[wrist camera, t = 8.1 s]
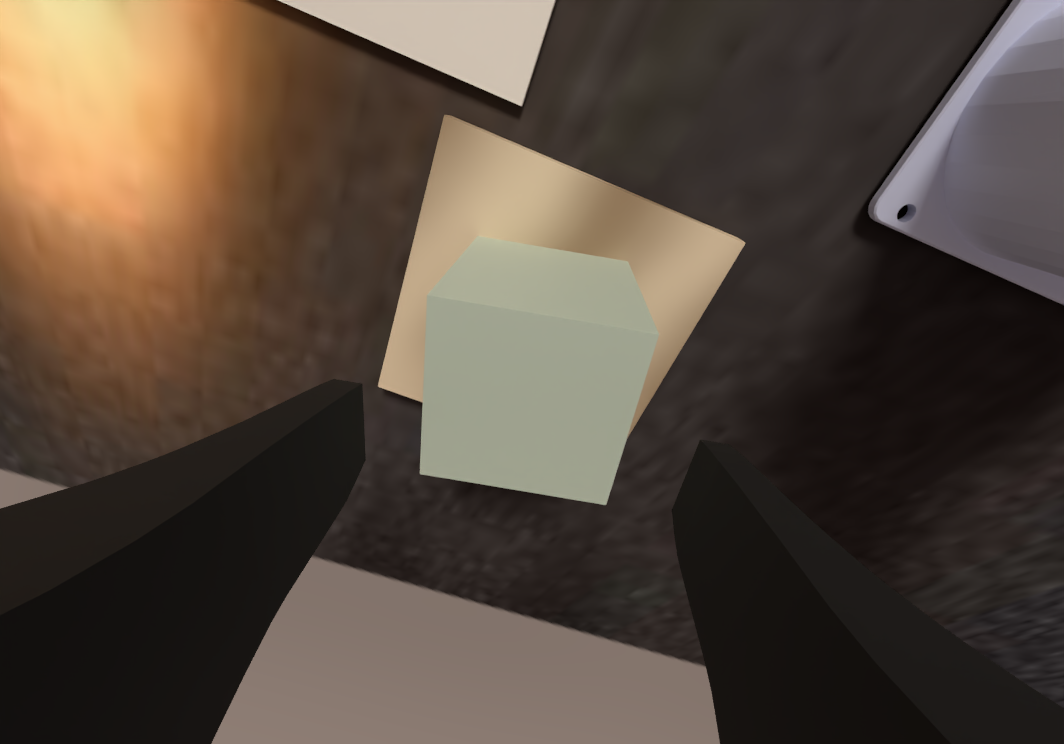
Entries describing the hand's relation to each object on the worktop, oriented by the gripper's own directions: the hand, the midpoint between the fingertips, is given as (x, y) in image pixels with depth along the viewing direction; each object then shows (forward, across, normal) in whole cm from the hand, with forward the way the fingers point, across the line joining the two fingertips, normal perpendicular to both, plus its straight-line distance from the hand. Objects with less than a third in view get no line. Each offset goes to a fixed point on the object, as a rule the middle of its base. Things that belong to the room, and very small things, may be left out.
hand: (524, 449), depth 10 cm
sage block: (+7, 0, 0) cm, 7 cm away
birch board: (+8, 0, 0) cm, 8 cm away
